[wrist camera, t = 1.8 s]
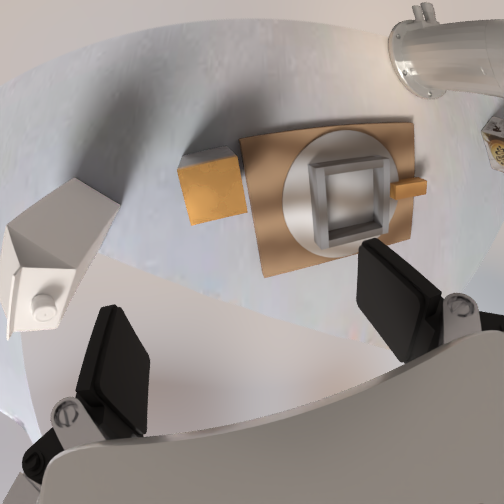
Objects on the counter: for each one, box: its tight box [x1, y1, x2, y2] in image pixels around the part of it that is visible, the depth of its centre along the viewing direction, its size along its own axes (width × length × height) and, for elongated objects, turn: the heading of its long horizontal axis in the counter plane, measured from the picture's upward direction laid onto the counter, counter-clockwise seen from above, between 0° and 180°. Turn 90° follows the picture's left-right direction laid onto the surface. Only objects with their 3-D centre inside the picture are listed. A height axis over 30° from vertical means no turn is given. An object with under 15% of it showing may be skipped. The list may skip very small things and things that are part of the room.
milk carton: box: [0, 178, 121, 340], centre depth 22 cm, size 7×7×19 cm
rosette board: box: [239, 122, 427, 278], centre depth 33 cm, size 18×25×4 cm
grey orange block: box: [177, 146, 247, 226], centre depth 27 cm, size 5×5×9 cm
